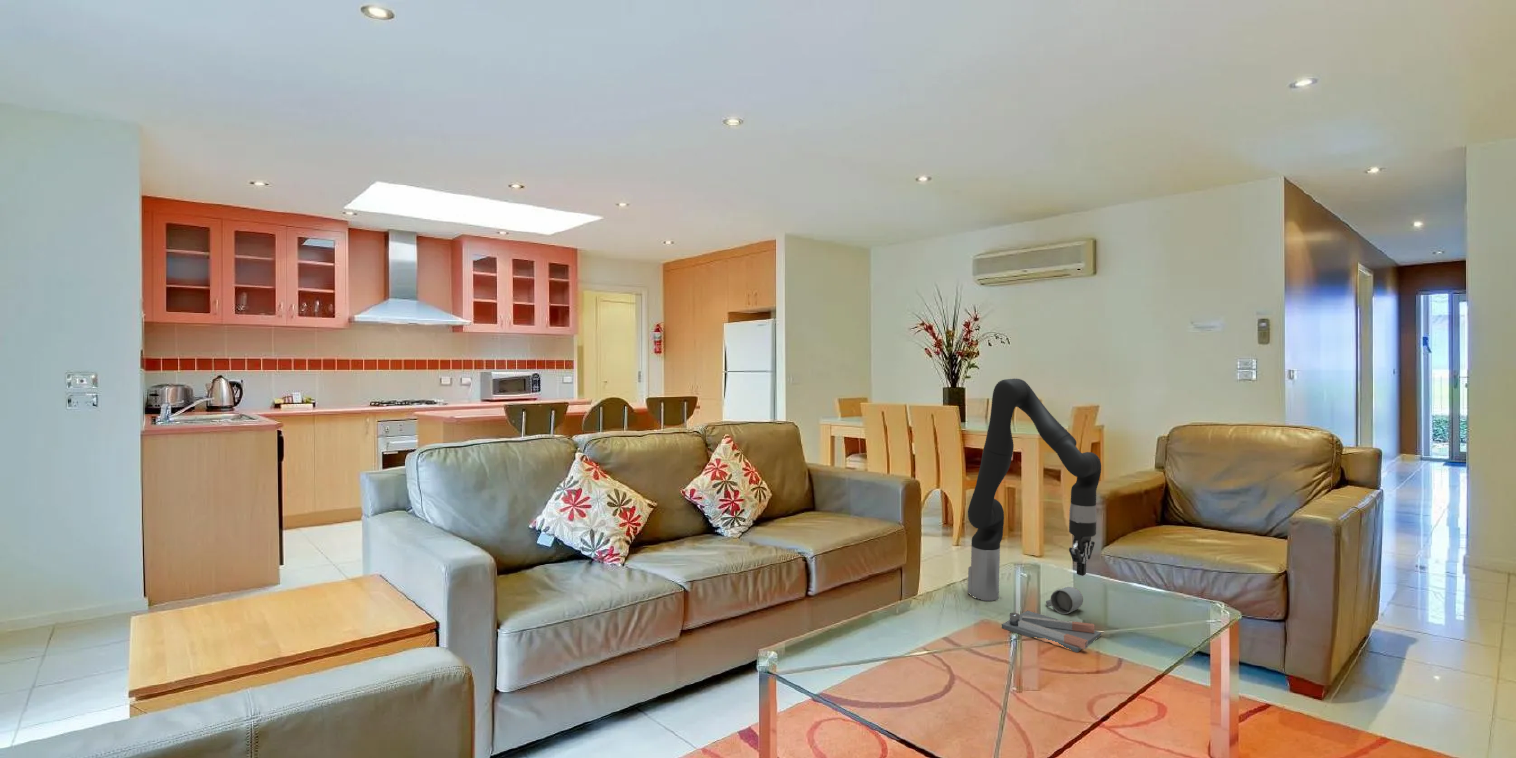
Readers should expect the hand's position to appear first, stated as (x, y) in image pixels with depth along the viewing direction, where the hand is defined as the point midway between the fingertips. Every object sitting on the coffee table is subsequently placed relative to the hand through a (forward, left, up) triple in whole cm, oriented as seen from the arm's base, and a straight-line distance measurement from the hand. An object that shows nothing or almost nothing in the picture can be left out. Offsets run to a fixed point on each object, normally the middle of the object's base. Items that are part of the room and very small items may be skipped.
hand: (1081, 574), depth 225 cm
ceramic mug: (-10, +10, -17) cm, 21 cm away
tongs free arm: (-3, -9, -15) cm, 17 cm away
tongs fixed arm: (-3, -16, -15) cm, 22 cm away
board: (-4, -10, -16) cm, 20 cm away
